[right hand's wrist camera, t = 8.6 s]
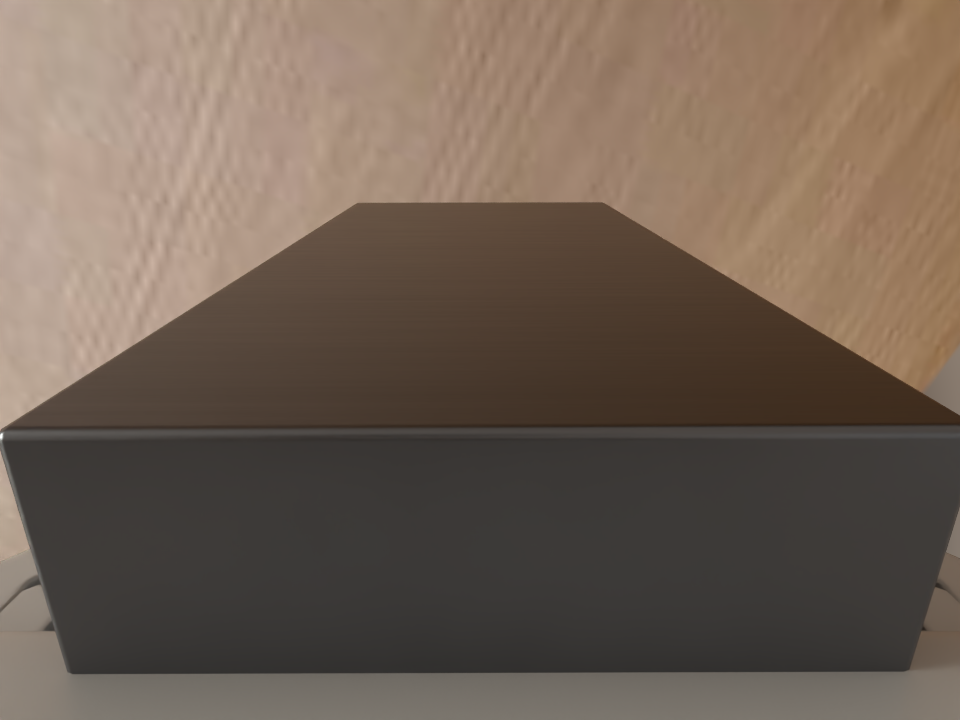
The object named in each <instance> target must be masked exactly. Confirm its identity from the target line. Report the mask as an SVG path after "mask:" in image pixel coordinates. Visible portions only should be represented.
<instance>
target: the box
mask: <svg viewBox="0 0 960 720" xmlns="http://www.w3.org/2000/svg"><path fill="white" fill-rule="evenodd" d="M0 450H1V454H2V457H3V460H4V464H5V467H6V470H7V474H8V477H9V480H10V484H11V487H12V490H13V494H14V497H15V500H16V503H17V507H18V510H19V513H20V517H21V520H22V523H23V527H24V530H25V533H26V537H27V540H28V543H29V547H30V550H31V553H32V557H33V560H34V563H35V566H36V570H37V573H38V576H39V580H40V583H41V586H42V590H43V593H44V596H45V600H46V603H47V606H48V610H49V613H50V616H51V620H52V623H53V626H54V630H55V633H56V636H57V639H58V643H59V646H60V649H61V653H62V656H63V659H64V663H65V666H66V669H67V672H68V673H71V674H302V673H621V672H904V671H907V670H909V669H910V666H911V663H912V659H913V656H914V653H915V650H916V646H917V643H918V640H919V637H920V633H921V630H922V627H923V624H924V621H925V617H926V614H927V611H928V608H929V604H930V601H931V598H932V595H933V591H934V588H935V585H936V582H937V579H938V575H939V572H940V569H941V566H942V562H943V559H944V556H945V553H946V549H947V546H948V543H949V540H950V537H951V533H952V530H953V527H954V524H955V520H956V517H957V514H958V511H959V507H960V415H958V414H956V413H955V412H953V411H951V410H950V409H948V408H946V407H945V406H943V405H941V404H940V403H938V402H936V401H935V400H933V399H931V398H929V397H928V396H926V395H925V394H923V393H921V392H919V391H918V390H916V389H914V388H913V387H911V386H909V385H908V384H906V383H904V382H903V381H901V380H899V379H898V378H896V377H894V376H893V375H891V374H889V373H888V372H886V371H884V370H883V369H881V368H879V367H878V366H876V365H874V364H873V363H871V362H869V361H868V360H866V359H864V358H863V357H861V356H859V355H858V354H856V353H854V352H853V351H851V350H849V349H847V348H846V347H844V346H842V345H841V344H839V343H837V342H836V341H834V340H832V339H831V338H829V337H827V336H826V335H824V334H822V333H821V332H819V331H817V330H816V329H814V328H812V327H811V326H809V325H807V324H806V323H804V322H802V321H801V320H799V319H797V318H796V317H794V316H792V315H791V314H789V313H787V312H786V311H784V310H782V309H780V308H779V307H777V306H775V305H774V304H772V303H770V302H769V301H767V300H765V299H764V298H762V297H760V296H759V295H757V294H755V293H754V292H752V291H750V290H749V289H747V288H745V287H744V286H742V285H740V284H739V283H737V282H735V281H734V280H732V279H730V278H729V277H727V276H725V275H724V274H722V273H720V272H719V271H717V270H715V269H713V268H712V267H710V266H708V265H707V264H705V263H703V262H702V261H700V260H698V259H697V258H695V257H693V256H692V255H690V254H688V253H687V252H685V251H683V250H682V249H680V248H678V247H677V246H675V245H673V244H672V243H670V242H668V241H667V240H665V239H663V238H662V237H660V236H658V235H657V234H655V233H653V232H652V231H650V230H648V229H647V228H645V227H643V226H641V225H640V224H638V223H636V222H635V221H633V220H631V219H630V218H628V217H626V216H625V215H623V214H621V213H620V212H618V211H616V210H615V209H613V208H611V207H610V206H608V205H606V204H605V203H602V202H595V203H357V204H355V205H354V206H352V207H350V208H349V209H347V210H346V211H344V212H343V213H341V214H339V215H338V216H336V217H335V218H333V219H331V220H330V221H328V222H327V223H325V224H324V225H322V226H320V227H319V228H317V229H316V230H314V231H313V232H311V233H309V234H308V235H306V236H305V237H303V238H302V239H300V240H298V241H297V242H295V243H294V244H292V245H291V246H289V247H287V248H286V249H284V250H283V251H281V252H280V253H278V254H276V255H275V256H273V257H272V258H270V259H269V260H267V261H265V262H264V263H262V264H261V265H259V266H258V267H256V268H254V269H253V270H251V271H250V272H248V273H246V274H245V275H243V276H242V277H240V278H239V279H237V280H235V281H234V282H232V283H231V284H229V285H228V286H226V287H224V288H223V289H221V290H220V291H218V292H217V293H215V294H213V295H212V296H210V297H209V298H207V299H206V300H204V301H202V302H201V303H199V304H198V305H196V306H195V307H193V308H191V309H190V310H188V311H187V312H185V313H184V314H182V315H180V316H179V317H177V318H176V319H174V320H173V321H171V322H169V323H168V324H166V325H165V326H163V327H161V328H160V329H158V330H157V331H155V332H154V333H152V334H150V335H149V336H147V337H146V338H144V339H143V340H141V341H139V342H138V343H136V344H135V345H133V346H132V347H130V348H128V349H127V350H125V351H124V352H122V353H121V354H119V355H117V356H116V357H114V358H113V359H111V360H110V361H108V362H106V363H105V364H103V365H102V366H100V367H99V368H97V369H95V370H94V371H92V372H91V373H89V374H87V375H86V376H84V377H83V378H81V379H80V380H78V381H76V382H75V383H73V384H72V385H70V386H69V387H67V388H65V389H64V390H62V391H61V392H59V393H58V394H56V395H54V396H53V397H51V398H50V399H48V400H47V401H45V402H43V403H42V404H40V405H39V406H37V407H36V408H34V409H32V410H31V411H29V412H28V413H26V414H25V415H23V416H21V417H20V418H18V419H17V420H15V421H14V422H12V423H10V424H9V425H7V426H6V427H4V428H2V429H1V431H0Z"/></svg>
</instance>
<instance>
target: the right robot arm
mask: <svg viewBox="0 0 960 720" xmlns="http://www.w3.org/2000/svg"><path fill="white" fill-rule="evenodd" d="M0 720H960V558H958V557H955V556H953V555H951V554H948V553H945V556H944V559H943V562H942V566H941V569H940V572H939V575H938V579H937V582H936V585H935V588H934V591H933V595H932V598H931V601H930V604H929V608H928V611H927V614H926V617H925V621H924V624H923V627H922V630H921V633H920V637H919V640H918V643H917V646H916V650H915V653H914V656H913V659H912V663H911V666H910V669H909V670H907V671H904V672H621V673H302V674H71V673H68V672H67V669H66V666H65V663H64V659H63V656H62V653H61V649H60V646H59V643H58V639H57V636H56V633H55V630H54V626H53V623H52V620H51V616H50V613H49V610H48V606H47V603H46V600H45V596H44V593H43V590H42V586H41V583H40V580H39V576H38V573H37V570H36V566H35V563H34V560H33V557H32V553H31V550H30V549H28V550H26V551H24V552H22V553H19V554H17V555H15V556H12V557H10V558H8V559H6V560H3V561H1V562H0Z"/></svg>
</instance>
